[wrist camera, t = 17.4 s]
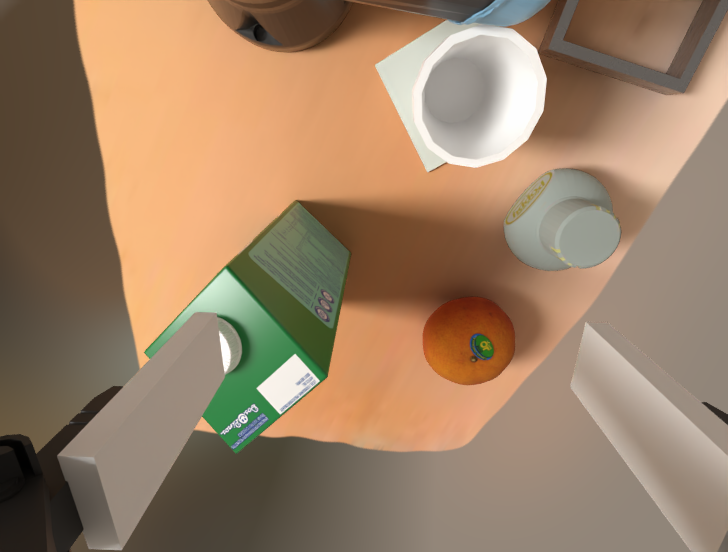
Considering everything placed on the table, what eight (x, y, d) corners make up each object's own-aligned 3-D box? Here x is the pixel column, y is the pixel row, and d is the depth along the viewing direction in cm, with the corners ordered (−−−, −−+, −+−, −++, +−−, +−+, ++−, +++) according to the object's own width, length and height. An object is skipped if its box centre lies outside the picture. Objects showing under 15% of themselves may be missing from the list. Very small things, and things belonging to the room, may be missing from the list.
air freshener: (553, 152, 43) (603, 160, 33) (607, 197, 44) (669, 217, 35) (485, 232, 46) (513, 259, 37) (537, 271, 48) (576, 307, 38)
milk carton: (296, 199, 45) (210, 279, 22) (352, 253, 47) (328, 378, 24) (246, 251, 48) (121, 374, 24) (301, 301, 50) (235, 456, 27)
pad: (374, 65, 40) (374, 64, 40) (485, -5, 38) (486, -6, 37) (427, 171, 44) (427, 172, 43) (531, 114, 41) (532, 114, 41)
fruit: (462, 373, 53) (476, 414, 46) (402, 330, 51) (407, 365, 44) (520, 317, 50) (546, 351, 42) (459, 269, 48) (475, 296, 40)
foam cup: (472, 153, 43) (502, 185, 31) (393, 120, 42) (393, 141, 30) (519, 59, 38) (573, 56, 27) (431, 20, 37) (449, -1, 26)
